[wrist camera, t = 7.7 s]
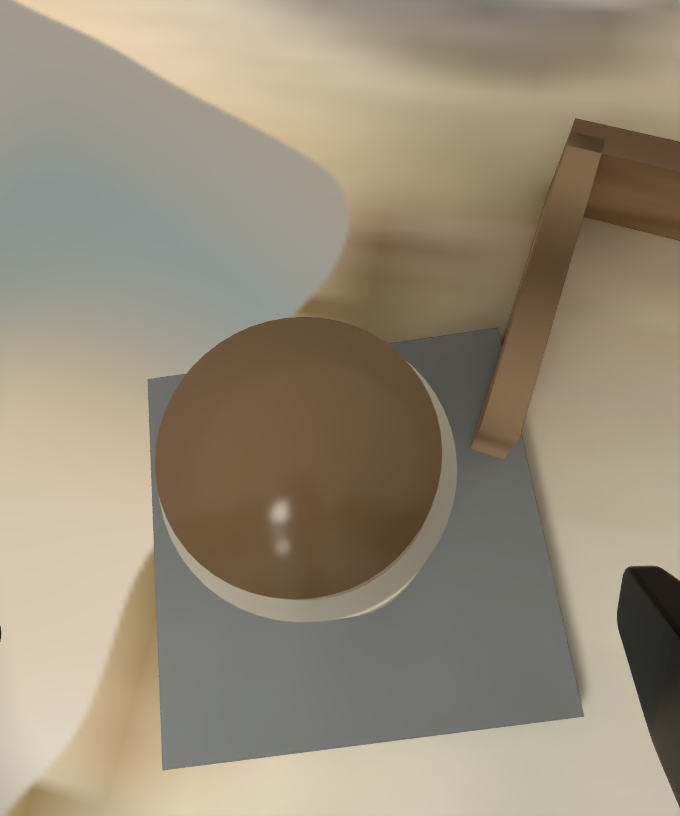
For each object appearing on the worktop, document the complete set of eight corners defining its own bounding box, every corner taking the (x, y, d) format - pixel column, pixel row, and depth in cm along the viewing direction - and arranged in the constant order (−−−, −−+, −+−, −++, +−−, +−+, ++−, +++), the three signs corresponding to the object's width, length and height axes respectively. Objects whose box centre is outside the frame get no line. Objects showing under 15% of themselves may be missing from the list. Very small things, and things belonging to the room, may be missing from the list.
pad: (577, 713, 17) (584, 716, 17) (170, 765, 18) (162, 770, 17) (494, 335, 21) (497, 327, 20) (154, 385, 21) (147, 379, 20)
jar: (456, 565, 18) (531, 514, 9) (309, 649, 18) (217, 692, 8) (374, 426, 19) (361, 247, 10) (236, 501, 19) (85, 390, 10)
